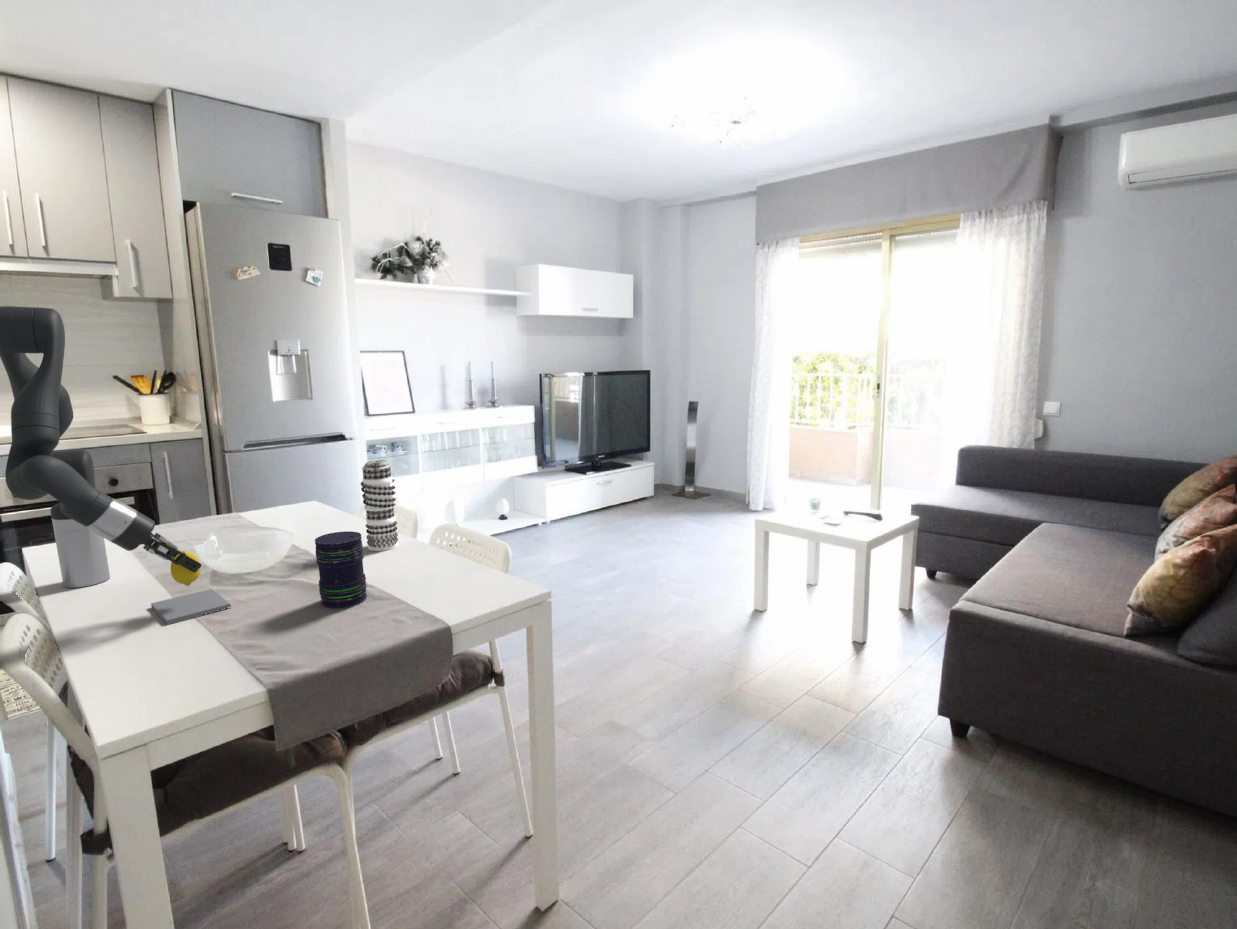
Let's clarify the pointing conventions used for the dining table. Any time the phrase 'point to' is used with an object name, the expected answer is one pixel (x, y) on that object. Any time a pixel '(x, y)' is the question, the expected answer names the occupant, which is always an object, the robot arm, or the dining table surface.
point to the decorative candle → (379, 505)
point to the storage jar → (341, 569)
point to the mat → (189, 606)
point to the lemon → (184, 571)
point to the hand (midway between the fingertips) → (194, 565)
